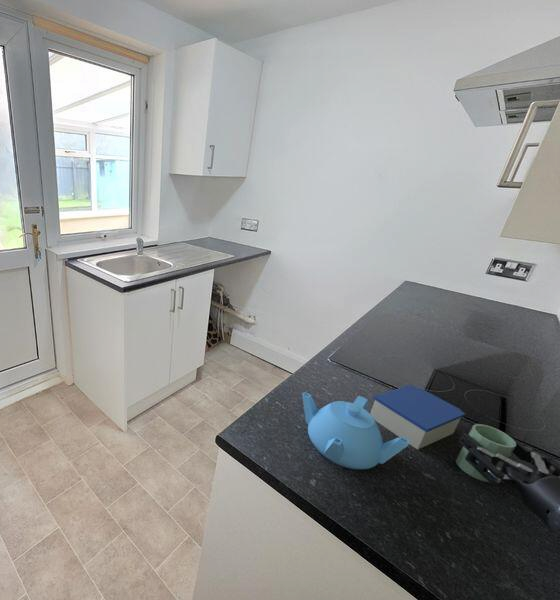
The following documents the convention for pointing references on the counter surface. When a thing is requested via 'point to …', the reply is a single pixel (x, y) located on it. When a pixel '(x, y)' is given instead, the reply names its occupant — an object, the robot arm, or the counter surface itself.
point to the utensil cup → (486, 447)
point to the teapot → (348, 434)
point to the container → (416, 415)
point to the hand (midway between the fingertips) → (484, 438)
